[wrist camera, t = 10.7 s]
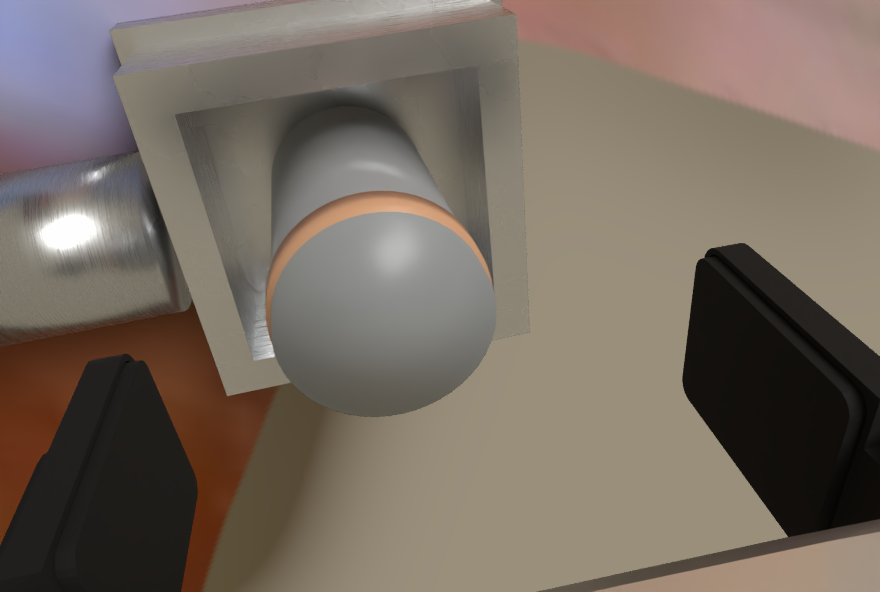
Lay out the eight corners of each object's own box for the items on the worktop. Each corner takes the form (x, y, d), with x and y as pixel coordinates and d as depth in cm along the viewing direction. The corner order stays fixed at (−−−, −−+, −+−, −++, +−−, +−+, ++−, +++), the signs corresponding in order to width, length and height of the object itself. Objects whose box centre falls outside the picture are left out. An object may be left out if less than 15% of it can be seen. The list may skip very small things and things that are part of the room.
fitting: (490, -31, 19) (542, -11, 15) (508, 278, 24) (550, 349, 20) (-131, 59, 17) (-247, 107, 13) (38, 372, 22) (-10, 469, 18)
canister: (415, 90, 19) (494, 199, 12) (433, 236, 21) (506, 393, 15) (249, 117, 18) (237, 246, 12) (287, 264, 21) (294, 441, 14)
